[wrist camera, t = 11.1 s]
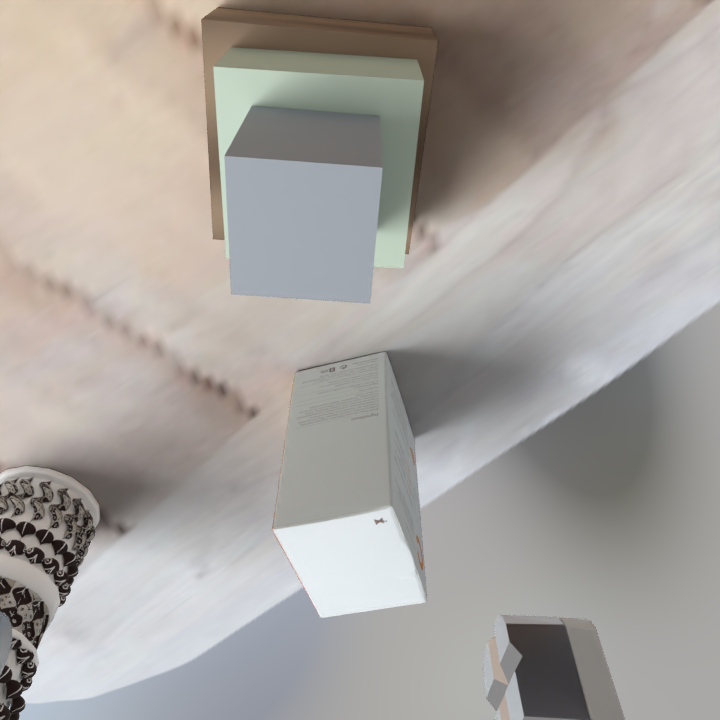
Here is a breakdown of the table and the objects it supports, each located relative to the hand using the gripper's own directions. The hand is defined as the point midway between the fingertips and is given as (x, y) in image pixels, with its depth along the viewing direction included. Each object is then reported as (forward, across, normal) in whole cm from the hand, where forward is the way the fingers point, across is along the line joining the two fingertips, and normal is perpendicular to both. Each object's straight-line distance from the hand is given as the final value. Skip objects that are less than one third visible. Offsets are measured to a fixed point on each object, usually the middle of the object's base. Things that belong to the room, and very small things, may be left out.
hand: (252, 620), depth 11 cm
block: (+20, 0, 0) cm, 20 cm away
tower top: (+24, 0, 0) cm, 24 cm away
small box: (+28, -3, +18) cm, 33 cm away
